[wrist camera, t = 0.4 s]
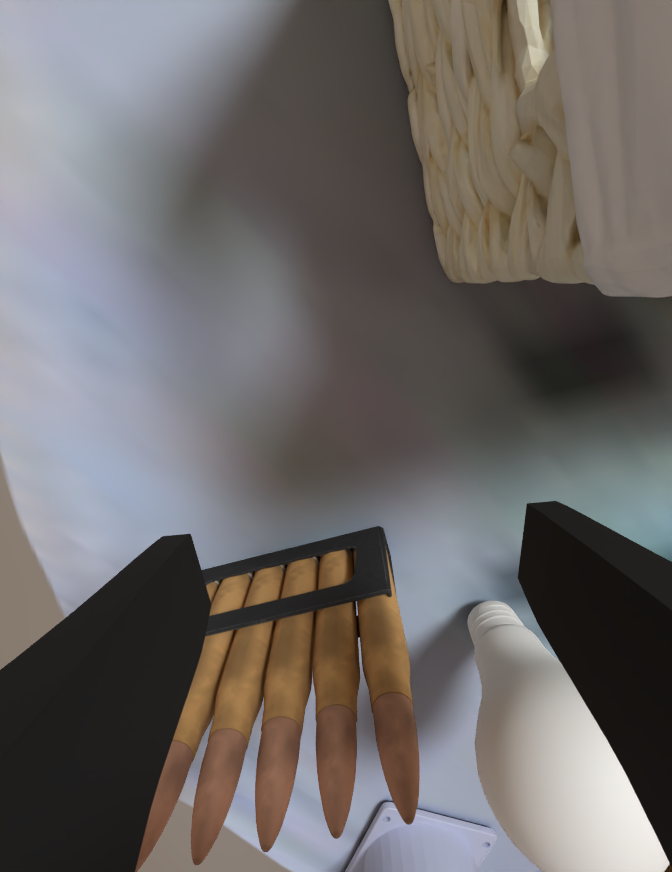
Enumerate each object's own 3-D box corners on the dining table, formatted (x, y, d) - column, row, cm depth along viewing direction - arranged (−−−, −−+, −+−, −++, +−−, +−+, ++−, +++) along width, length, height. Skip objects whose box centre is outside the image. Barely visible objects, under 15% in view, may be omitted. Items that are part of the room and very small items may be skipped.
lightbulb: (538, 652, 23) (717, 943, 12) (430, 659, 23) (512, 953, 12) (545, 557, 21) (760, 798, 10) (428, 565, 21) (521, 811, 10)
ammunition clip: (382, 525, 20) (441, 787, 9) (390, 555, 21) (457, 842, 9) (186, 573, 21) (8, 872, 10) (199, 602, 22) (43, 919, 10)
